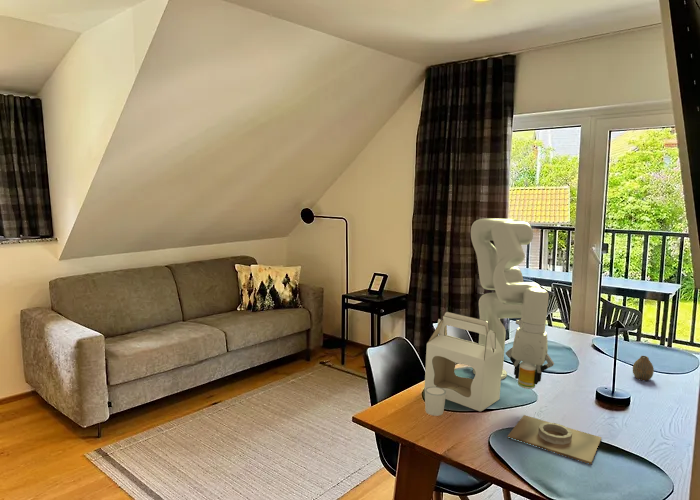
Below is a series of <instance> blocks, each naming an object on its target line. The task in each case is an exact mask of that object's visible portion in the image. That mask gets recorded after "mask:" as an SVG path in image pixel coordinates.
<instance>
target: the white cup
mask: <svg viewBox="0 0 700 500" xmlns="http://www.w3.org/2000/svg"><path fill="white" fill-rule="evenodd" d="M446 400H447V399H446V390H444V389H442V388H440V387H427V388H426V389H425V390H424V403H425V404H424V406H425V413H426V414H428V415H430V416H433V417H434V416H435V417H437V416H438V417H439V416H442V415H443V414H444V410H445V404H446Z"/></svg>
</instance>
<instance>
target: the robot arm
mask: <svg viewBox="0 0 700 500" xmlns="http://www.w3.org/2000/svg"><path fill="white" fill-rule="evenodd" d="M470 239H471V243H472V247H473V248H474V251H475V254H476V259H477V266H478V269H477V270H478V274H479V275H478V276H479V277H478V278H479V282H480V286H481V287H482V288H483V289H484V290H489V291H495V292H487V293H484V294H482V295H481V296H479V300H478V311H479V319H481V320H485V321H488V323H489V330H492V331H493V332H495V335H496V338H497V340H498V342H499V344H500V346H501V348H502V349H503V359H502V372H501V380H503V379H505V378H507V376H508V375H507V374H508V372H507V371H506V370H505V369H504V359H505V358H504V357H505V355H506V356H507V358H508V359H509V360H510V362H511V364H512V365H513V368H514V371H513V375H514V379H515V380H518V376H519V366H520V363H521V362H527V363H531V364H535V365H536V368H537V371H536V373H535V381H534V384H535V386H536V385H537V384H538V383H539V382H541V381H542V373H543V372H545V371H546V370H547V369H550V368H551V367H554V365H555V363H554V361H553V360H552V358H551V356H550V355H549V354H548V349H549V348H548V345H549V343H548V334H547V332H546V324H547V317H548V314H547V313H548V305H549V296H550V295H549V292H548V291H547V290H546V289H544V288H542V287H541V286H540V285H539V284H538V283H536V282H533V281H524V276H523V272H522V271H521V269H520V268H519V267H518V266H519V265H520V264H522V263H523V261H524V260H525V252H524V250H523V247H522V245H523V246H525V245H529V244H531V243H532V241H533V239H534V231H533V229H532V226H531V225H530V224H529V223H528V222H527V221H523V220H518V219H514V218H487V217H486V218H480V219H477V220H475V221H474V222H473V223H472V225H471V229H470ZM491 241H493V243H492V242H491ZM501 319H516V320H515V324H516V325H518V327H517V328H516V331H515V334H514V338H513V343H512V347H511V348H509V349H508V350H506V352H505V345H506V335H507V334H506V327H505V326H504V324H503V323H502V321H501ZM478 334H479V335H478V343H479V344H482V345H486V336H485V335H483V334H480V333H478ZM545 362H547V363H545ZM472 373H473V374H474V375H475V374H476V372H475V370H474V369H473V368H472Z"/></svg>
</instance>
